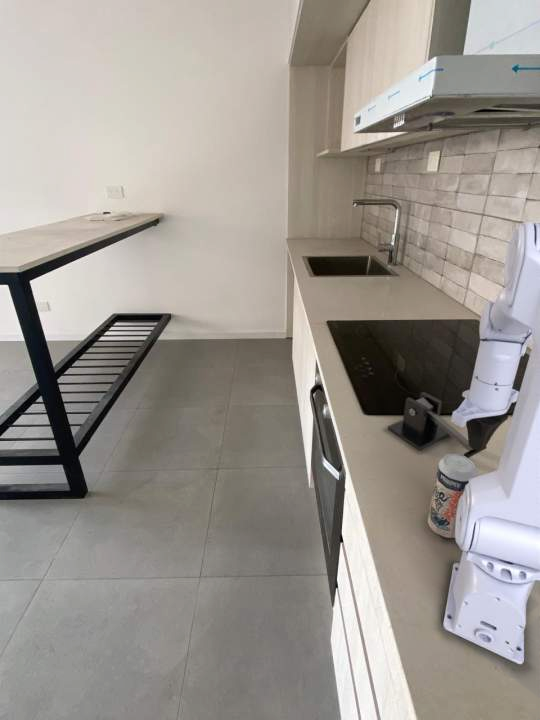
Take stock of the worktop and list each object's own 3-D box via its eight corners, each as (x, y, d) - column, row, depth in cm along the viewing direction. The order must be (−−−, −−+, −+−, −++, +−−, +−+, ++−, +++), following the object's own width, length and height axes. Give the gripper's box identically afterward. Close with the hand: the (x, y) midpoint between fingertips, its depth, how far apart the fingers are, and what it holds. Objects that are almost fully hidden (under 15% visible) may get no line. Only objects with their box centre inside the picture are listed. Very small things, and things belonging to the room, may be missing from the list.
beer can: (420, 520, 60) (431, 457, 55) (444, 510, 61) (457, 448, 56) (444, 545, 56) (459, 479, 50) (469, 533, 57) (486, 468, 52)
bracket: (450, 436, 78) (457, 402, 75) (418, 451, 74) (424, 416, 71) (418, 417, 84) (423, 385, 81) (387, 430, 80) (391, 397, 77)
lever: (483, 452, 70) (489, 443, 69) (465, 462, 68) (470, 453, 66) (424, 404, 79) (428, 395, 78) (406, 411, 77) (410, 402, 76)
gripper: (496, 357, 69) (481, 422, 74) (441, 379, 62) (428, 448, 68) (539, 373, 63) (518, 442, 69) (482, 398, 57) (464, 472, 62)
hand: (476, 446), depth 68 cm, fingers closed
